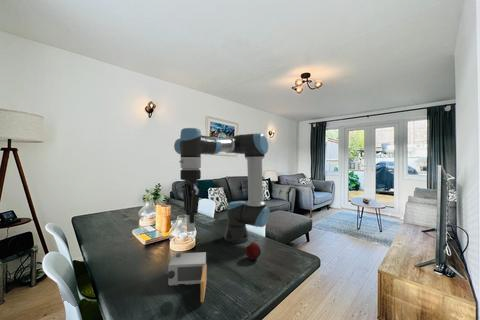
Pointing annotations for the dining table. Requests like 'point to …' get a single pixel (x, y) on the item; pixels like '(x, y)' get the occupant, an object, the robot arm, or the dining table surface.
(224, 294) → the dining table surface
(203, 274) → the side door
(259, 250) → the apple
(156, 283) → the dining table surface
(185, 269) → the small grey cabinet
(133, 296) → the dining table surface
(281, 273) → the dining table surface
